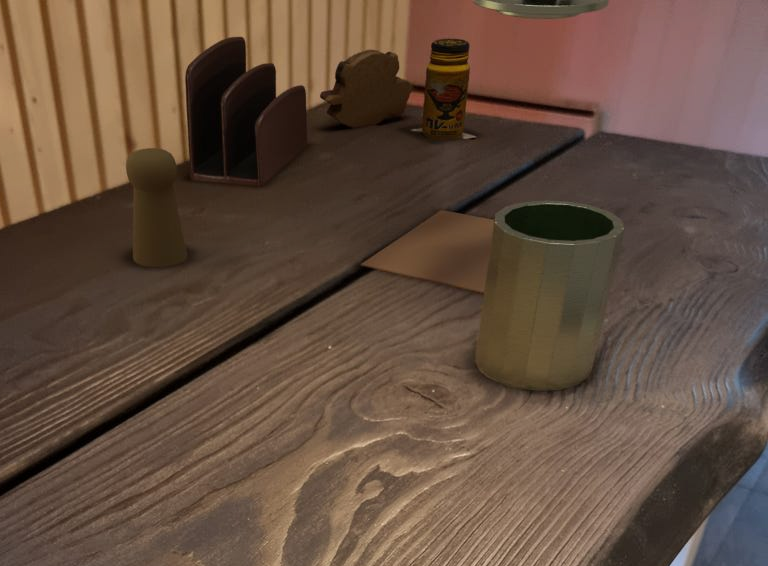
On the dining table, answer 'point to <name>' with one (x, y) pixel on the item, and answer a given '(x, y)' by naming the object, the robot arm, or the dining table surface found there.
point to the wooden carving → (367, 89)
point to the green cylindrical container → (546, 293)
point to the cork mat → (441, 251)
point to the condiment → (446, 90)
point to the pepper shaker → (155, 209)
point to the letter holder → (240, 118)
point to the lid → (543, 7)
